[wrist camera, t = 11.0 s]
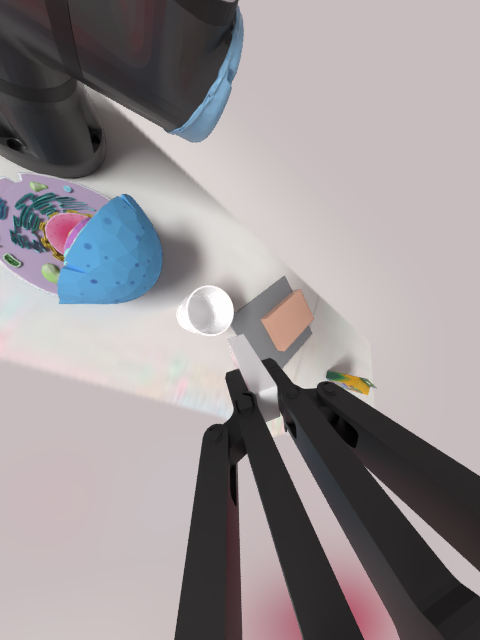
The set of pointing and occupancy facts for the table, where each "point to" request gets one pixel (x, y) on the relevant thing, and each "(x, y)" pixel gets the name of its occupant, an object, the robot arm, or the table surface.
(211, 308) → the white cup
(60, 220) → the educational model
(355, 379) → the crayon box
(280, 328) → the tile
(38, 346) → the table surface
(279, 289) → the mat
